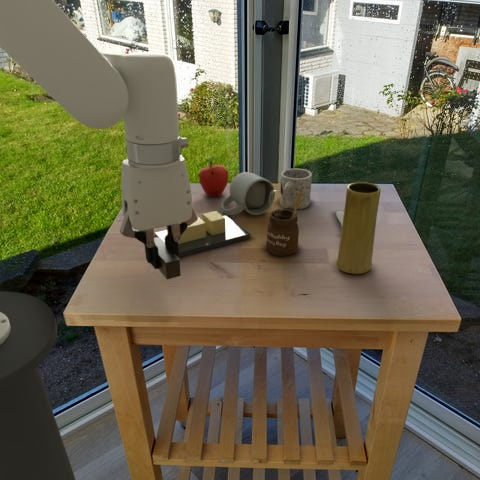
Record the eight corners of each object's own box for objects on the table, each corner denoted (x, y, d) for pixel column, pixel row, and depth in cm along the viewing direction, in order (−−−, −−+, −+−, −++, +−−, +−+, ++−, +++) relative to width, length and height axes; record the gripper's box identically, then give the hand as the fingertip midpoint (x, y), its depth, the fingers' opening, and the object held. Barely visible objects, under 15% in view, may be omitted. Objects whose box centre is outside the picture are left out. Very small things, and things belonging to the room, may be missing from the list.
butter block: (177, 244, 93) (176, 229, 91) (169, 236, 96) (168, 221, 94) (206, 237, 95) (205, 222, 94) (197, 229, 98) (196, 215, 96)
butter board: (174, 258, 91) (174, 253, 90) (154, 237, 98) (154, 232, 97) (250, 238, 97) (250, 233, 96) (226, 219, 104) (226, 215, 103)
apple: (196, 191, 117) (193, 148, 111) (223, 187, 119) (221, 145, 113) (206, 203, 111) (203, 159, 105) (234, 198, 113) (233, 155, 107)
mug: (286, 195, 114) (288, 166, 110) (313, 200, 112) (316, 171, 108) (269, 211, 107) (269, 181, 103) (297, 216, 105) (299, 186, 101)
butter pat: (212, 235, 96) (211, 221, 94) (203, 227, 99) (202, 213, 97) (225, 232, 97) (225, 218, 95) (216, 224, 100) (215, 210, 98)
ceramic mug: (255, 198, 113) (255, 165, 108) (275, 211, 107) (275, 176, 102) (214, 208, 109) (212, 174, 104) (232, 222, 103) (231, 187, 98)
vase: (374, 274, 85) (387, 194, 77) (338, 274, 85) (347, 194, 77) (367, 257, 90) (378, 180, 81) (333, 257, 90) (341, 181, 82)
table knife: (139, 229, 93) (137, 214, 91) (180, 276, 79) (180, 259, 78) (127, 232, 92) (125, 217, 90) (167, 279, 78) (165, 263, 77)
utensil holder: (276, 239, 97) (279, 179, 90) (304, 247, 94) (309, 186, 87) (259, 251, 93) (260, 189, 86) (288, 260, 90) (292, 197, 83)
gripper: (193, 137, 77) (197, 243, 88) (90, 150, 70) (108, 264, 81) (215, 150, 72) (216, 262, 82) (106, 166, 65) (123, 285, 76)
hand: (162, 262), depth 82 cm, fingers closed on table knife, 2 cm apart
